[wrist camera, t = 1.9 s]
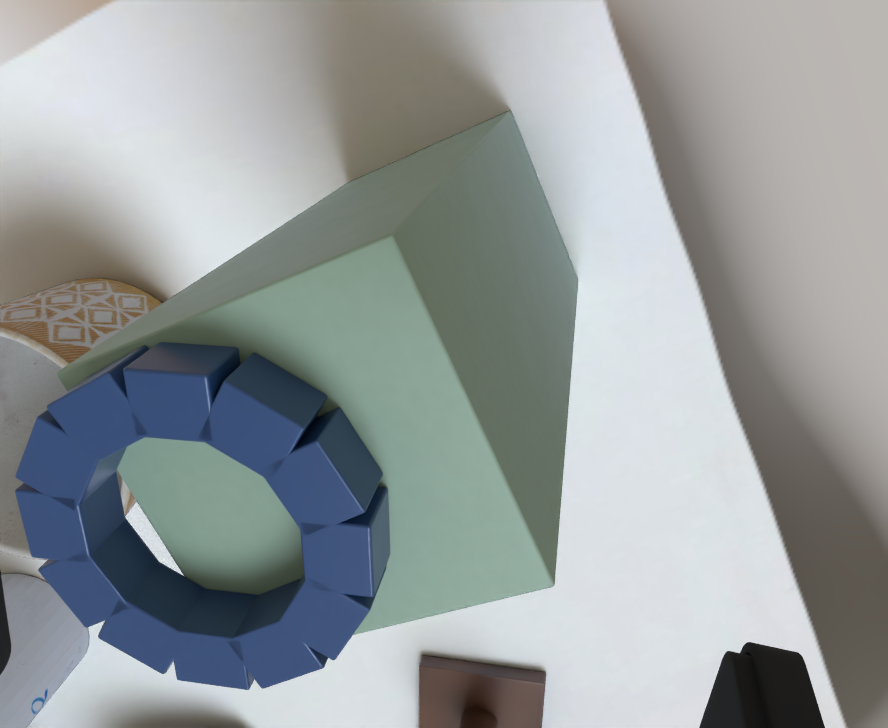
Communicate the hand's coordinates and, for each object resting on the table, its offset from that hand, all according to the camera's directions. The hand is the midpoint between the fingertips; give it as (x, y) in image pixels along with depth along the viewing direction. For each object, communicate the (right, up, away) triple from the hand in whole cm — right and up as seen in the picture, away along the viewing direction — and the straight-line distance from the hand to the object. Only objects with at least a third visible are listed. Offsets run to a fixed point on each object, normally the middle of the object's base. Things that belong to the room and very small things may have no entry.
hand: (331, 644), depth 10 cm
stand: (+4, -19, +43) cm, 47 cm away
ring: (-4, 0, +9) cm, 10 cm away
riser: (+2, +10, +30) cm, 32 cm away
